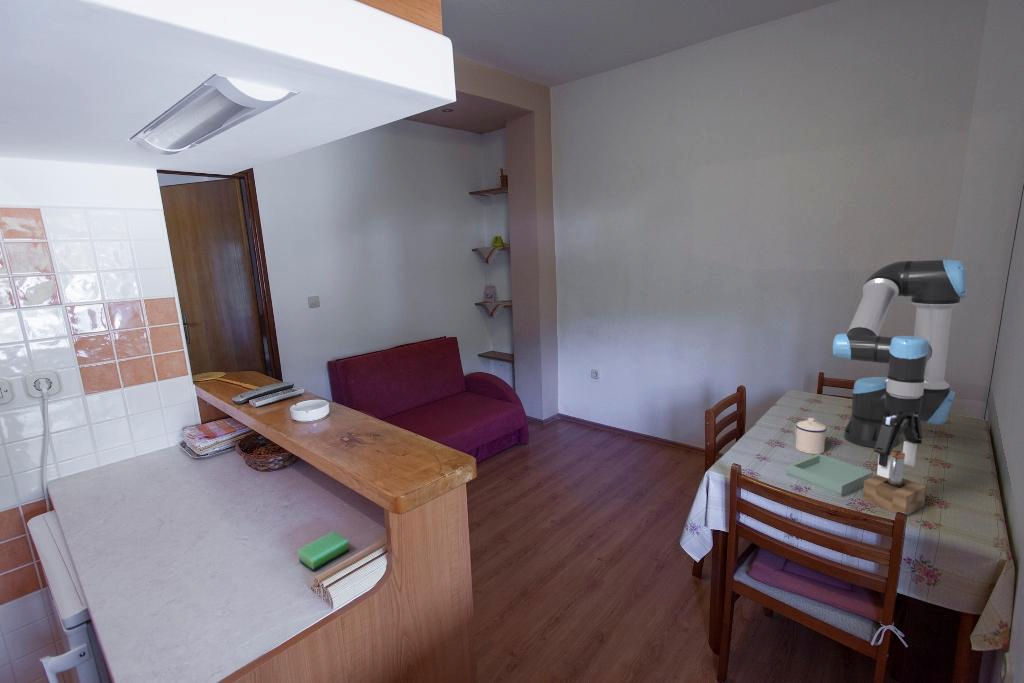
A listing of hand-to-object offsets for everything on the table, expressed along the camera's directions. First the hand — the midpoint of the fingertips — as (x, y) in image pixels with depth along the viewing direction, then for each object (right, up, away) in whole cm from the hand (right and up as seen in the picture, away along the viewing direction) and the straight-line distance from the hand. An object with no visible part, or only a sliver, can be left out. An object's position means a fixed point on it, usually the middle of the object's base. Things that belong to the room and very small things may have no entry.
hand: (896, 470), depth 127 cm
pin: (+1, -10, +2) cm, 10 cm away
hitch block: (+1, -10, +2) cm, 10 cm away
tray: (-7, -7, +17) cm, 20 cm away
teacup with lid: (0, -3, +39) cm, 39 cm away
